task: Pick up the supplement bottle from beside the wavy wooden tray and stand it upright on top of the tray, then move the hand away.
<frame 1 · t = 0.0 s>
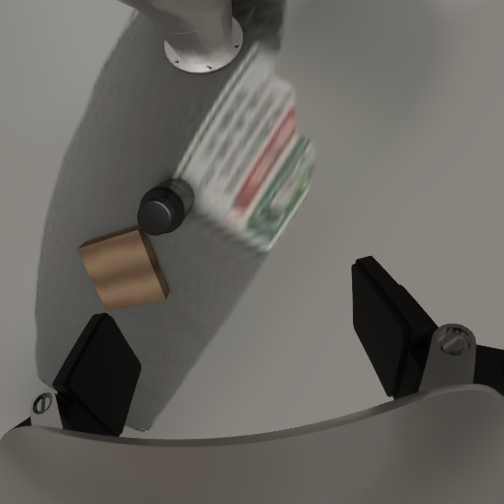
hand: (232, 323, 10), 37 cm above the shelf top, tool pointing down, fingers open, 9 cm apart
wavy wooden tray: (125, 266, 49), on the shelf top
supplement bottle: (174, 197, 44), on the shelf top
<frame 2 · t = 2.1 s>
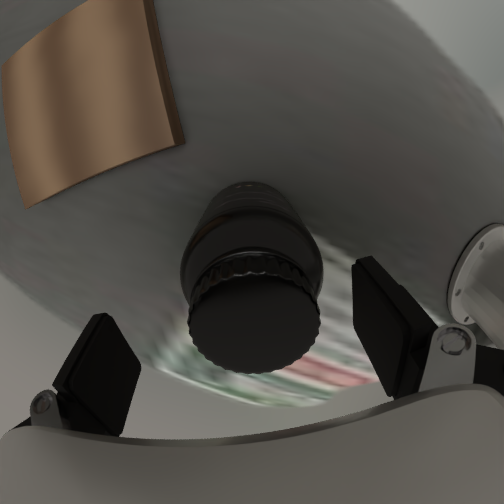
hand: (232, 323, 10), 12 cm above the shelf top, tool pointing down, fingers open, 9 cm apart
wavy wooden tray: (84, 93, 15), on the shelf top
supplement bottle: (249, 224, 20), on the shelf top
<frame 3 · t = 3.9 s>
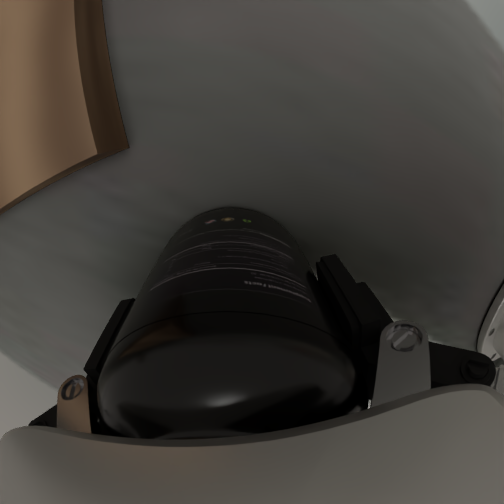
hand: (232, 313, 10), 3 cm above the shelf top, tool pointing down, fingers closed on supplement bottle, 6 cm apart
wavy wooden tray: (7, 88, 8), on the shelf top
supplement bottle: (233, 270, 13), on the shelf top, touching gripper
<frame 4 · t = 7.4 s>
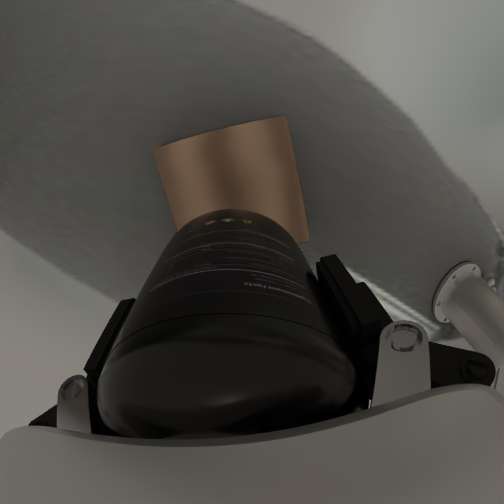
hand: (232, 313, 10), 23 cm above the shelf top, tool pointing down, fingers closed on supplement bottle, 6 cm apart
wavy wooden tray: (234, 189, 31), on the shelf top
supplement bottle: (233, 271, 13), point 19 cm above the shelf top, touching gripper
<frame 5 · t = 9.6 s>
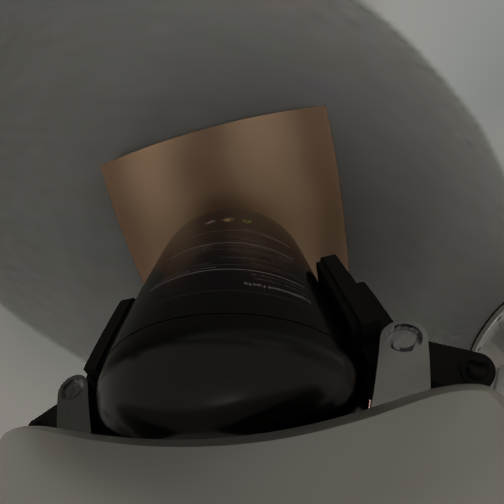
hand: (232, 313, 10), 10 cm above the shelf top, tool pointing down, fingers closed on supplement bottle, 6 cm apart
wavy wooden tray: (235, 225, 20), on the shelf top
supplement bottle: (233, 271, 13), point 7 cm above the shelf top, touching gripper
when the fingers open (8 cm above the shelf top, at t = 11.2 s): supplement bottle drops 1 cm, resting on wavy wooden tray.
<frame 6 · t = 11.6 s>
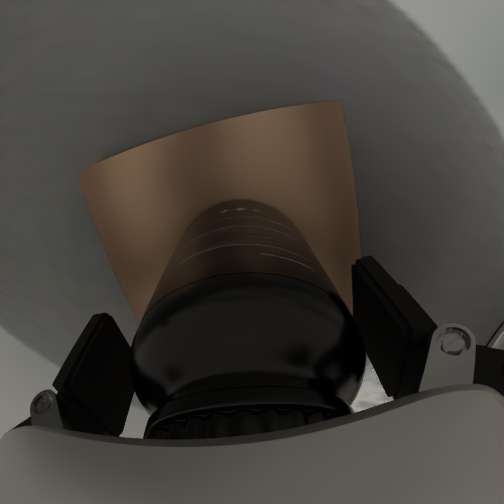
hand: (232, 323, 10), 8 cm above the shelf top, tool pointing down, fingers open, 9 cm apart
wavy wooden tray: (234, 238, 17), on the shelf top
supplement bottle: (242, 257, 15), point 3 cm above the shelf top, touching wavy wooden tray
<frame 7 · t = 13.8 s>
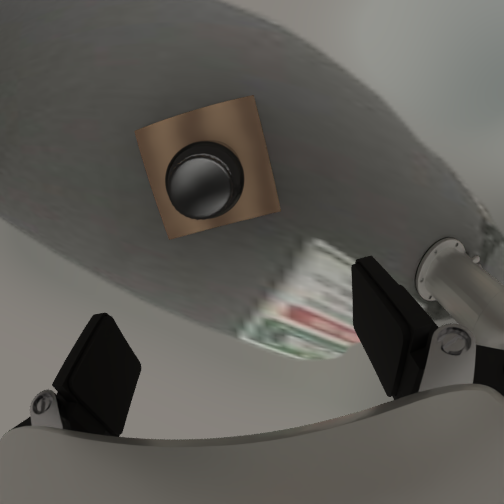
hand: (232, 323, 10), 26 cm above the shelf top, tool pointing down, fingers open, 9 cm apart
wavy wooden tray: (209, 165, 32), on the shelf top
supplement bottle: (211, 168, 30), point 3 cm above the shelf top, touching wavy wooden tray
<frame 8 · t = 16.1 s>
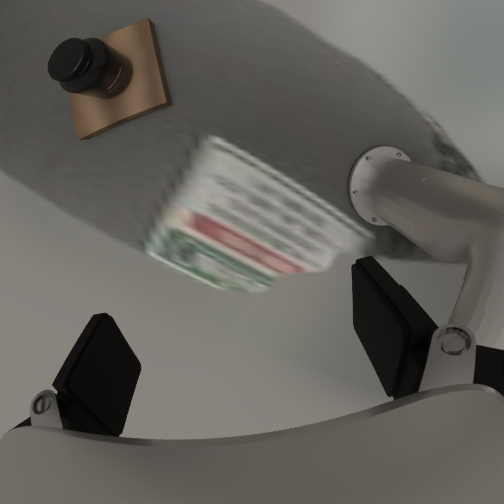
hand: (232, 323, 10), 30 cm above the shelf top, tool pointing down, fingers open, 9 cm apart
wavy wooden tray: (117, 79, 30), on the shelf top
supplement bottle: (112, 76, 27), point 3 cm above the shelf top, touching wavy wooden tray
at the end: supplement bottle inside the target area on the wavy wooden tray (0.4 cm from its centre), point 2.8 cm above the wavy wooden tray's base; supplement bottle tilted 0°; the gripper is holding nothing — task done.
